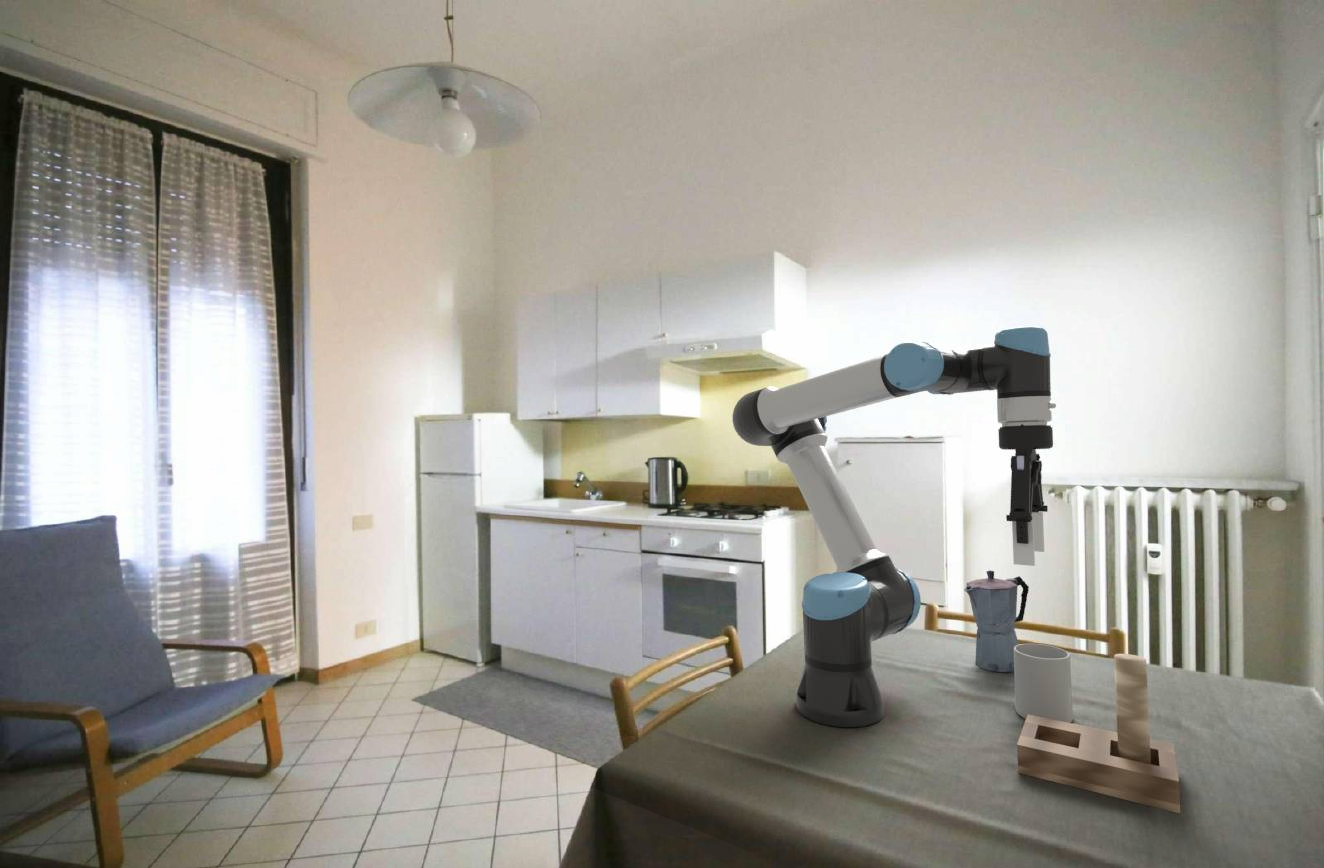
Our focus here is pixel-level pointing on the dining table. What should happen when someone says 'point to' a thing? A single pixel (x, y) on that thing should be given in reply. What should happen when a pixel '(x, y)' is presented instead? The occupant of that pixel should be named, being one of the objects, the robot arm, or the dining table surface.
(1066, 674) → the mug
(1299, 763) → the dining table surface
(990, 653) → the moka pot
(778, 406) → the robot arm
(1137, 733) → the pin
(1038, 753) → the bore block
